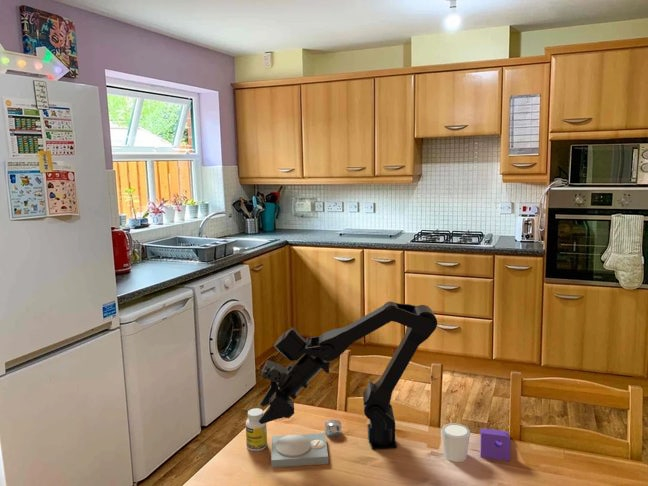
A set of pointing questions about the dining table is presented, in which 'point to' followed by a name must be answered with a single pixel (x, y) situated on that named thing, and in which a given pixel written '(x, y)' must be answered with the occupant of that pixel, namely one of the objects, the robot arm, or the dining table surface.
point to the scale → (299, 450)
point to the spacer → (333, 428)
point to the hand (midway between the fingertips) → (260, 413)
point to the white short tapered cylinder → (455, 442)
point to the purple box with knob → (495, 444)
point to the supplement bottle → (255, 431)
